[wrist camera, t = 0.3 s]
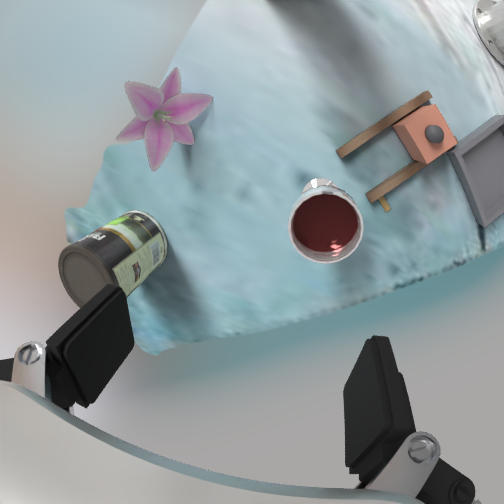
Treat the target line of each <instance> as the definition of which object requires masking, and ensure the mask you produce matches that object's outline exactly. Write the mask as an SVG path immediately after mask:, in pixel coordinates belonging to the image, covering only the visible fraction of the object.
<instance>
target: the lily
mask: <svg viewBox="0 0 504 504" xmlns="http://www.w3.org/2000/svg"><path fill="white" fill-rule="evenodd" d="M124 86H125V91H126V94H127V96H128V99H129V101H130V103H131V105H132V108H133V110H134V112H135V114H136V115H137V116H136V117H135V118H134V119H133V120H132V121H131V122H130V123H129V124H128V125H127V126H126V127H125V128H124V129H123V130H122V131H121V132H120V134H119V135H118V136H117V138H116V140H117V141H134V140H140V139H144V140H145V146H146V151H147V156H148V161H149V165H150V168H151V170H152V171H153V172H155V171H156V170H157V169H158V168H159V167H160V166H161V164H162V163H163V161H164V160H165V158H166V156H167V155H168V153H169V151H170V149H171V147H172V145H173V141H175V142H178V143H182V144H187V145H193V144H194V142H195V141H194V136H193V133H192V130H191V128H190V126H189V124H188V123H189V122H190V121H192V120H194V119H195V118H196V117H197V116H199V115H200V114H201V113H202V112H203V111H204V110H205V109H206V108H207V107H208V106H209V105H210V104H211V102H212V100H213V97H212V96H210V95H205V94H194V93H185V94H181V79H180V73H179V69H178V68H177V67H176V68H174V70H173V71H172V72H171V73H170V74H169V76H168V77H167V78H166V80H165V81H164V82H163V84H162V86H161V87H160V89H158V88H156V87H153V86H149V85H146V84H142V83H138V82H130V81H128V82H126V83H125V85H124Z"/></svg>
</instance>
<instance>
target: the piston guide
mask: <svg viewBox="0 0 504 504" xmlns="http://www.w3.org/2000/svg"><path fill="white" fill-rule="evenodd" d="M431 98H432V95H431V94H430V92H429V91H425V92H423V93H421V94H420V95H418V96H416V97H415V98H413V99H412V100H410V101H409V102H407V103H406V104H404V105H402V106H401V107H399V108H398V109H396V110H395V111H393V112H392V113H390V114H389V115H387V116H386V117H384V118H383V119H381V120H380V121H378V122H377V123H375V124H374V125H372V126H371V127H369V128H368V129H366V130H365V131H363V132H362V133H360V134H359V135H358V136H356V137H355V138H353V139H352V140H350V141H349V142H347V143H346V144H344V145H343V146H342V147H340V148H339V149H337V150H336V152H337V153H338V155H339V156H340V157H341V158H343V157H344V156H346V155H347V154H349V153H350V152H352V151H353V150H355V149H356V148H357V147H359V146H360V145H362V144H363V143H365V142H366V141H368V140H369V139H371V138H372V137H374V136H375V135H377V134H378V133H379V132H381V131H382V130H384V129H385V128H387V127H388V126H390V125H391V124H393V123H394V122H396V121H397V120H399V119H400V118H402V117H403V116H405V115H406V114H408V113H409V112H411V111H412V110H414V109H416V108H417V107H419V106H420V105H422V104H423V103H425V102H426V101H428V100H429V99H431ZM454 138H455V140H456V142H457V144H458V141H457V139H456V137H455V136H454ZM455 145H456V144H455ZM455 145H454V146H455ZM454 146H452V147H454ZM452 147H451V148H452ZM451 148H450V149H451ZM448 150H449V149H448ZM448 150H447V151H448ZM447 151H445V152H447ZM445 152H444V153H445ZM444 153H443V154H444ZM441 155H442V154H441ZM441 155H440V156H441ZM438 157H439V156H438ZM438 157H437V158H438ZM437 158H436V159H437ZM434 160H435V159H434ZM434 160H433V161H434ZM431 162H432V161H431ZM431 162H430V163H431ZM430 163H428V164H430ZM428 164H425V163H422V162H419V161H416V160H414V161H413V162H411V163H410V164H408V165H407V166H405V167H404V168H403V169H401V170H400V171H398V172H397V173H395V174H394V175H392V176H391V177H389V178H388V179H386V180H385V181H383V182H382V183H381V184H379V185H378V186H376V187H375V188H373V189H372V190H370V191H369V192H367V193H366V196H367V198H368V199H369V201H370V202H371V203H373V202H374V201H376V200H377V199H378V200H379V201H380V203H381V205H382V206H383V208H384V210H385V211H386V212H387V211H389V210H390V209H391V208H390V206H389V205H388V203H387V201H386V200H385V198H384V196H383V195H385V194H386V193H387V192H389V191H390V190H392V189H393V188H395V187H396V186H398V185H399V184H401V183H402V182H404V181H405V180H406V179H408V178H409V177H411V176H412V175H414V174H415V173H417V172H418V171H420V170H421V169H422V168H424V167H425V166H427V165H428Z"/></svg>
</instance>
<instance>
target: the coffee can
mask: <svg viewBox="0 0 504 504" xmlns="http://www.w3.org/2000/svg"><path fill="white" fill-rule="evenodd" d="M166 255H167V240H166V236H165V234H164V231H163V229H162V228H161V226H160V225H159V223H158V222H157V221H156V220H155V219H154V218H153V217H152V216H150V215H148V214H147V213H145V212H141V211H129V212H126V213H125V214H123V215H122V216H120V217H119V218H117V219H115V220H113V221H111V222H110V223H108V224H106V225H105V226H103V227H101V228H99V229H98V230H96V231H94V232H92V233H91V234H89V235H87V236H86V237H84V238H82V239H81V240H79V241H77V242H76V243H74V244H72V245H69V246H68V247H66V248H65V249H64V250H63V251H62V252H61V254H60V256H59V263H58V267H59V274H60V278H61V281H62V283H63V286H64V288H65V290H66V291H67V293H68V295H69V296H70V297H71V299H72V300H73V301H74V302H75V303H76V305H77V306H79V307H80V308H81V307H82V306H84V305H85V304H86V303H87V302H88V301H89V300H90V299H91V298H92V297H94V296H95V295H96V294H97V293H98V292H99V291H100V290H101V289H103V288H104V287H105V286H106V285H107V284H112V285H116V286H119V287H121V288H122V289H123V291H124V292H125V293H126V298H127V297H128V296H129V295H130V294H131V293H132V292H133V291H134V290H135V289H136V288H137V287H138V286H139V285H140V284H141V283H142V282H143V281H144V280H145V279H146V278H147V277H148V276H149V275H150V274H151V273H152V272H153V271H154V270H155V269H156V268H157V267H159V266H160V265H161V264H162V263H163V262H164V260H165V258H166Z"/></svg>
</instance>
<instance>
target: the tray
mask: <svg viewBox="0 0 504 504" xmlns="http://www.w3.org/2000/svg"><path fill="white" fill-rule="evenodd" d="M447 154H448V156H449V158H450V160H451V162H452V164H453V166H454V168H455V170H456V172H457V175H458V177H459V179H460V181H461V183H462V186H463V188H464V190H465V193H466V195H467V198H468V200H469V203H470V205H471V208H472V211H473V213H474V216H475V219H476V222H477V223H479V224H480V225H482V226H483V227H484V228H485V227H486V226H488V225H489V224H490V223H491V222H493V221H494V220H495V219H496V218H498V217H499V216H500V215H501V214H502V213H504V115H495V116H494V117H492V118H491V119H490V120H488V121H487V122H485V123H484V124H483V125H481V126H480V127H479V128H477V129H476V130H475V131H473V132H472V133H470V134H469V135H468V136H466V137H465V138H464V139H462V140H461V141H459V142H458V144H456V145H455V146H454V147H452V148H451V149H449V150H448V151H447Z"/></svg>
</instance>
